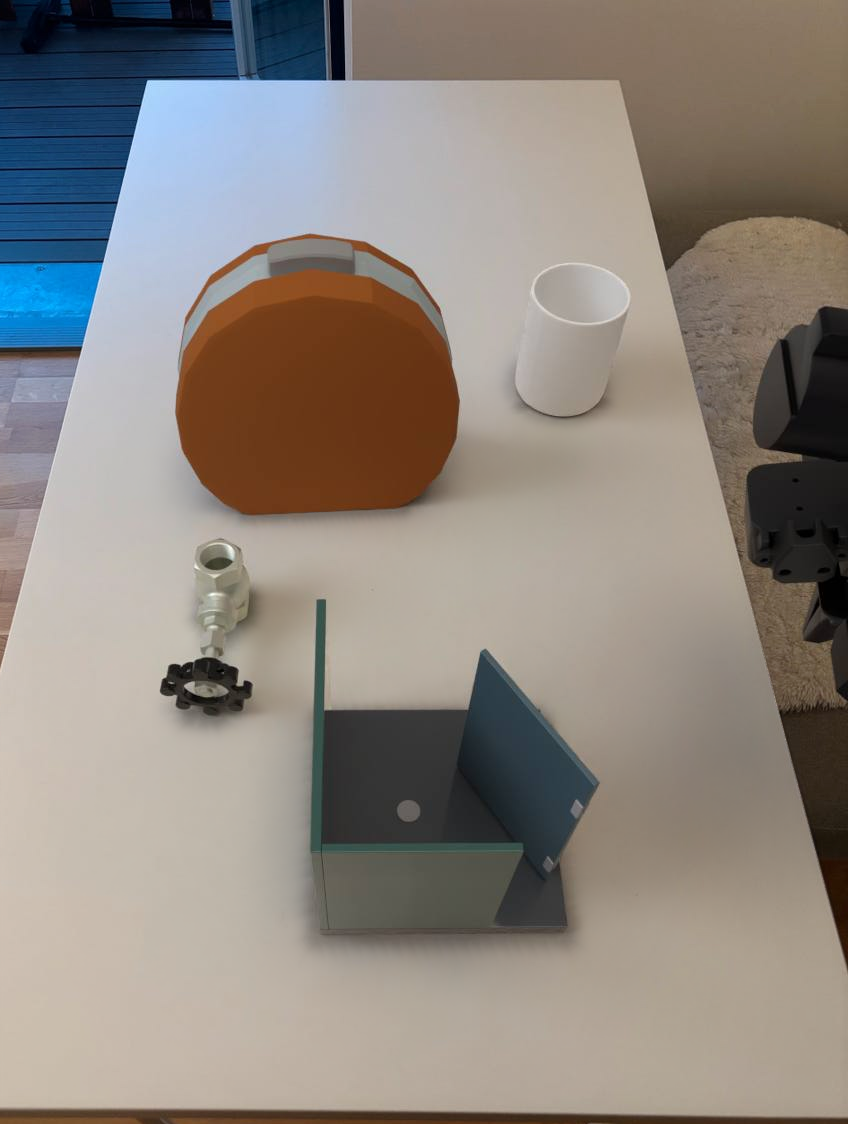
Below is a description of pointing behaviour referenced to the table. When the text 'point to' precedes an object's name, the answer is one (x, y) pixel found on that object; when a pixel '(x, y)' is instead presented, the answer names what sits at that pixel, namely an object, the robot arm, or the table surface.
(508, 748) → the shower door
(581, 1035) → the table surface
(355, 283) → the alarm clock
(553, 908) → the shower stall
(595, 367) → the mug
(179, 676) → the valve
